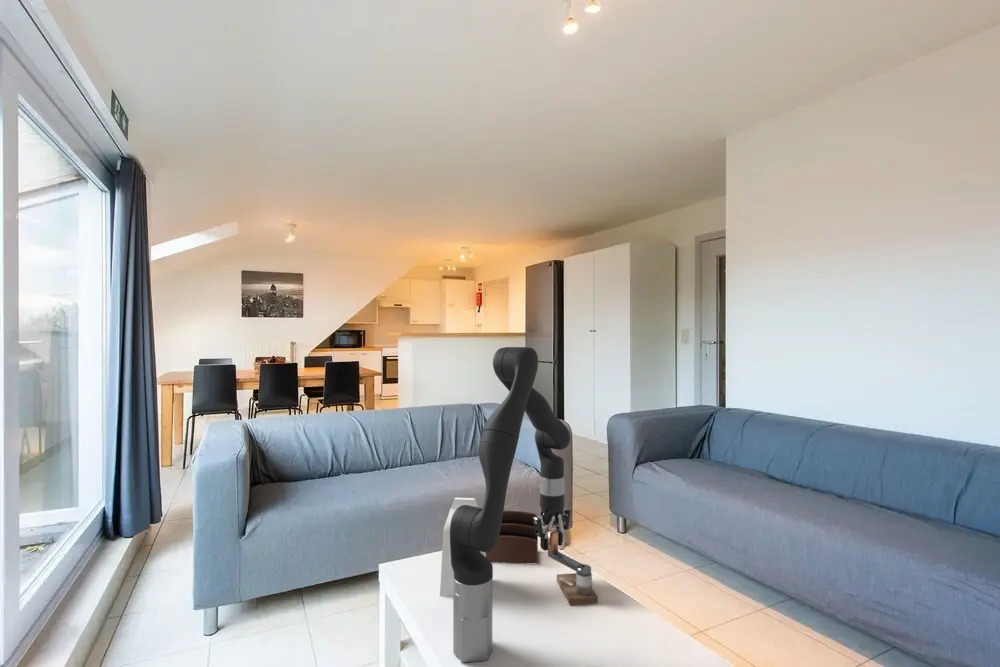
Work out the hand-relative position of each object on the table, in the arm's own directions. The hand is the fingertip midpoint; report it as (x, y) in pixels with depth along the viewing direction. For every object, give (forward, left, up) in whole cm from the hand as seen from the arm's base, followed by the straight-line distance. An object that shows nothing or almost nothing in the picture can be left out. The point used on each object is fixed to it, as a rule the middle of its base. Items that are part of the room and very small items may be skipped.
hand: (551, 547), depth 152 cm
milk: (0, +26, -10) cm, 28 cm away
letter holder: (+19, +10, -11) cm, 24 cm away
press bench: (-7, -5, -10) cm, 14 cm away
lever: (-6, -4, -3) cm, 7 cm away
